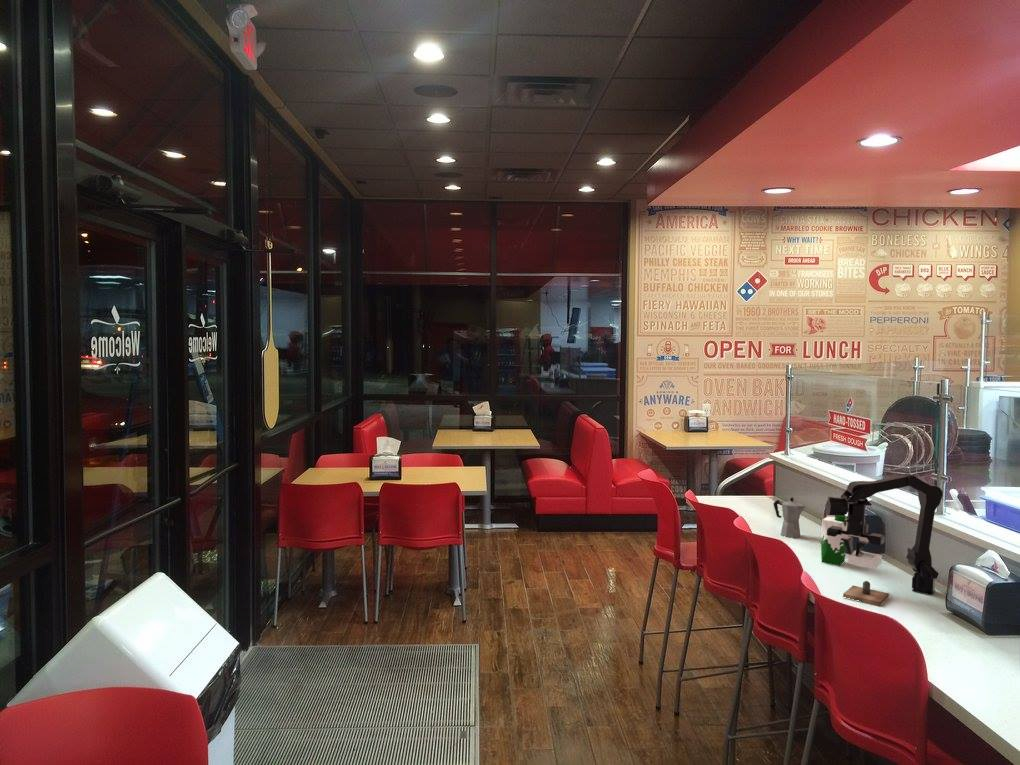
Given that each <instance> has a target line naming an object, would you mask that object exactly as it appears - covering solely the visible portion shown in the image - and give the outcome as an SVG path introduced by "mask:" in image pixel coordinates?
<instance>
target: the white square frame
mask: <svg viewBox="0 0 1020 765" xmlns="http://www.w3.org/2000/svg"><path fill="white" fill-rule="evenodd" d="M847 559H848V560H847V563H848V564H851V565H856V566H861V567H863V568H870V569H874V570H875V569H876V568H878V567H879V566H880V565H882V562H883V555H882V554H877V553H873V552H868V551H865V550H861V552H860V555H859V556H857V555H856V550H853V552H852V553H851V554H849V553H848V558H847Z"/></svg>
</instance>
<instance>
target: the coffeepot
mask: <svg viewBox="0 0 1020 765" xmlns="http://www.w3.org/2000/svg"><path fill="white" fill-rule="evenodd" d="M789 498H790V499H789V501H785V500H780V499H777V500H775V501H774V502H773V507H774V511H775V515H776V517H777V518H779V519H781V518H783V521H782V525H781V530H780V531H781V532H780V536H782V537H784V536H785V537H784V538H790V539H799V538H801V528H800V518H801V513H802V512H803V511H804V509H806V508H807V506H806V505H803V504H802V503H799V502H796V501H794V499H795V498H794V497H789ZM778 505H780V506H781V509H782V515H780V511H779V506H778Z"/></svg>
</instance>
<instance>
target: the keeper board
mask: <svg viewBox="0 0 1020 765" xmlns="http://www.w3.org/2000/svg"><path fill="white" fill-rule="evenodd" d="M843 597H846V598H850V599H854V600H859V601H861V602H860V603H863V602H865V603H864V604H867V603H868V605H872V604H873V605H872V606H877V607H881V606H882V605H883V604H884V603H885V602H886V601H887V600H888V599H887V598H888V597H890V593H889V592H884V591H880V590H875V589H871V582H869V580H864V581H863V582H862V586H859V585H852V586H850V587H849V588H848V589H847V590H845V591H844V592H843V595H842V598H843ZM846 598H845V599H846ZM850 599H849V600H850ZM886 599H887V600H886ZM854 600H853V601H854ZM885 600H886V601H885ZM859 601H858V602H859ZM884 601H885V602H884ZM883 602H884V603H883ZM882 603H883V604H882ZM881 604H882V605H881ZM880 605H881V606H880Z"/></svg>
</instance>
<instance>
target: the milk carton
mask: <svg viewBox="0 0 1020 765" xmlns="http://www.w3.org/2000/svg"><path fill="white" fill-rule="evenodd" d="M847 519H848V518H847V516H846V515H845V516H835V515H834V517H833V516H826V517H824V518H822V521H821V522H822V524H821V525H822V526H821V544H820V545H821V546H820V547H821V548H820V552H821V553H820V555H821V563H824V564H827V565H828V564H829V565H832V566H833V565H834V566H838V565H839V567H840V566H842V563H843V562H844V563H845V560H846V552H847V551H846V550H847V547H846V545H845V544H844V542H843V541H842V540H841V536H842V535H837V536H835V537H833V536H828V535H827V529H828V528H829V527H831V526H837V527H842V529H843V530H845V531H846V530H847ZM844 563H843V564H844Z"/></svg>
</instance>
